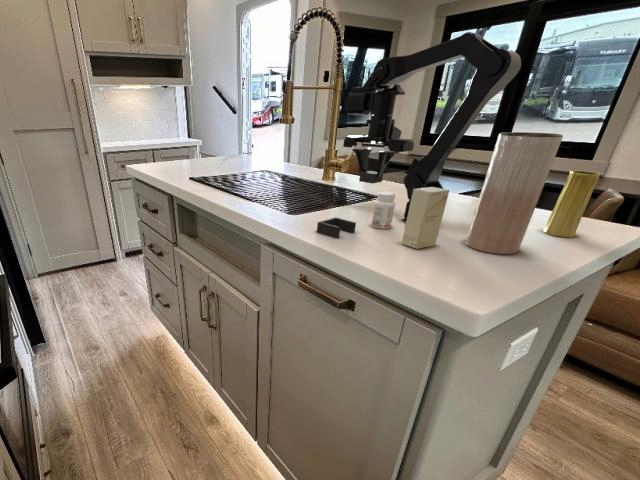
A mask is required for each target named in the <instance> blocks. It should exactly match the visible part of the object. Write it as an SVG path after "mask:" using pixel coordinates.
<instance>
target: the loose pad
mask: <svg viewBox="0 0 640 480" xmlns="http://www.w3.org/2000/svg"><path fill="white" fill-rule="evenodd" d="M383 178H384V172H383V173H382V175H381V177H377V171H374V170H367V171H366V172H362V171H360V172H359V180H358V181H359V182H360V183H367V184H378V183H382V182H383Z"/></svg>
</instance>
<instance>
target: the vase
mask: <svg viewBox="0 0 640 480" xmlns="http://www.w3.org/2000/svg"><path fill="white" fill-rule="evenodd" d="M600 176H601V173H600V172H597V171H588V170H571V171H569V175H568V177H567V179H566V181H565V184H564V186H563V188H562V190H561V192H560V194H559V197H558V198H557V201H556V203H555V206H554V207H553V209H552V212H551V214H550V215H549V217H548V220H547V222H546V225H545V226H544V228H543V232H544V234H547V235H549V236H554V237H558V238H559V237H560V238H574V237H575V236H576V234H577V231H578V228H579V225H580V223H581V220H582V219H583V215H584V213H585V211H586V208H587V206H588V204H589V201H590V199H591V196H592V194H593V192H594V190H595V187H596V185H597V183H598V180H599V178H600Z"/></svg>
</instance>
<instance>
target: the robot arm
mask: <svg viewBox="0 0 640 480" xmlns="http://www.w3.org/2000/svg"><path fill="white" fill-rule="evenodd" d="M462 58H464V59H465V60H466V61H467V62H468V63H469V64H470V65H471V66H473V67H474V68H475V69H476V70H475V71H474V74H473V76H472V77H471V81H470V85H469V89H468V92H467V94H466V96H465V98H464V99H463V101H462V102H461V104H460V105H459V107H457V110H456V111H455V112H454V114H452V117H451V118H450V120H448V123H447V125H446V126H445V127H444V129H443V130H442V131H441V133H440V135H439V136H438V138H437V139H436V141H435V142H434V144H433V145H432V147H431V148H430V150H429V151H428V153H427V154H426V155H425V156H421V157H416V158H414V159H413V161H412V162H411V164H410V165H409V167H408V169H407V170H406V171H404V174H405V175H404V177H403V183H404V187H405V189H406V194H407V199H408V201H407V202H406V205H405V209H404V214H403V218H401V221H403V222H406V221H407V216H408V212H409V207H410V203H411V199H412V194H413V189H418V188H427V187H436V188H441V189H445V188H444V187H443V185H442V184H441V182H440V181H439V179H440V177H441V176H442V173H443V169H444V166H445V164H446V163H445V162H446V160H448V157H449V156H451V153H453V151H454V149H455V148H456V146H457V145H458V144H459V142H460V141H461V140H462V138H463V137H464V135H466V133H467V131H468V130H469V128H471V126H472V125H473V123H474V121H475V120H476V119H477V117H478V116H479V115H480V113H481V112H482V110H483V109H484V108H485V107H486V105H487V104H488V103H489V102H490V101H491V100H492V99H493V98H495V97H496V95H498V94H499V93H500V92H502V90H503V89H505V88H506V86H508V84H509V83H510V82H511V81H512V80H513V79H514V78H515V77H516V76H517V75H518V73H519V71H520V70H521V66H522V59H521V56H520V54H519V53H517V52H516V51H512V50H508V49H503V48H499V47H498V46H496V45H494V44H493V43H491V42H489V41H487V40H486V39H485V38H483V36H482V35H481V34H479V33H476V32H472V31H468V32H464V33H463V34H462V35H459V36H457V37H454V38H451V39H448V40H446V41H444V42H440V43H438V44H435V45H433V46H430V47H427V48H425V49H422V50H419V51H417V52H414V53H411V54H407V55H398V56H396V55H395V56H390V57H383V58H381V59H379V60H378V61H377V62H376V63H375V66H374V68H373V71H372V73H371V74H370V75H369V77H368V78H367V80H366V81H365V83H364V84H363V86H362V87H360V86H352V87H351V89H350V92H349V93H348V94H347V96H346V98H345V101H344V111H345V113H346V114H347V115H351V116H352V115H353V116H367V115H369V114H370V115H369V118H367V119H366V125H367V124H368V126H367V127H368V128H367V133H366V135H364V136H363V135H348V136H345V138H344V139H343V142H342V147H343V148H352V152H354V154H355V156H356V159H357V161H358V164H359V168H360V172H366V171H368V166H369V160H370V159H369V158H370V154H371V152H372V150H373V148H383V150H382V151H381V150H380V151H378V159H377V170H376V172H377V177H381V175H382V173H383V174H384V171H385V169H386V167H387V166H388V164H389V162H390V161H391V159H392V158H393V157H394V156H395V155H397V154H400V153H404V152H405V153H406V152H413V150H414V146H415V143H414V140H413V138H401V136H402V132H403V131H402V130H401V129H400V128H399V127H397V126H395V125H396V124H395V123H396V121H395V118H393V116H394V110H395V105H396V100H397V99H396V98H397V96H405V94H406V91H404V89H403V88H402V86H401V83H403V82H404V81H406V80H408V79H409V78H411V77H412V76H413V75H415V74H417V73H420V72H423V71H426V70H430V69H431V68H435V67H438V66H442V65H444V64H448V63H451V62H454V61H456V60H459V59H462ZM371 147H373V148H371Z"/></svg>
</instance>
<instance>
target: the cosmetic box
mask: <svg viewBox="0 0 640 480" xmlns="http://www.w3.org/2000/svg"><path fill="white" fill-rule="evenodd" d="M449 193H450V189H448V188H447V189H446V188H444V189H441V188H436V187H427V188H418V189H413V194H412V199H411V203H410V207H409V212H408V216H407V221H405V226H404V231H403V233H402V234H403V235H402V239H401V244H402V245H405V246H407V247H410V248H413V249H417V250H419V249H423V248H424V249H425V248H428V247H433V246H436V243H437V240H438V235H439V232H440V229H441V228H440V227H441V224H442V221H443V216H444V213H445V209H446V205H447V201H448V198H449V195H450V194H449Z"/></svg>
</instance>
